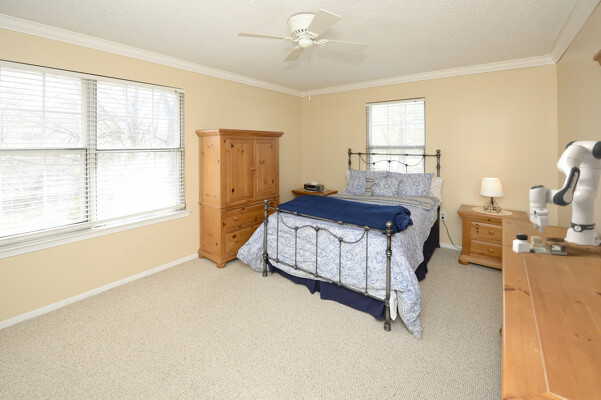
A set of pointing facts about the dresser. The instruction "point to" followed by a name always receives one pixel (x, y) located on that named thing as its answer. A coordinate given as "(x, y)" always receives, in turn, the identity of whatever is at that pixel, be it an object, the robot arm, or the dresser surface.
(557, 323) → the dresser surface
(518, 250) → the medicine bottle
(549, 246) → the brown wooden piece
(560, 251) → the board
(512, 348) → the dresser surface
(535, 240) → the block
